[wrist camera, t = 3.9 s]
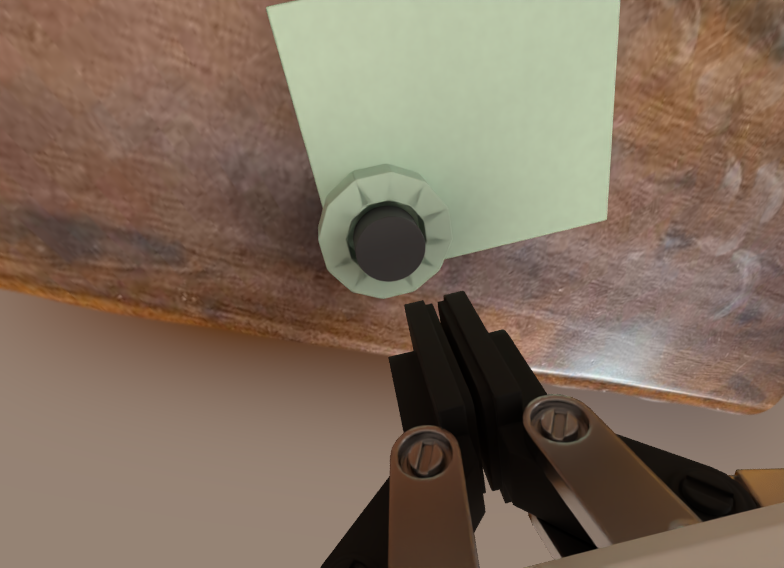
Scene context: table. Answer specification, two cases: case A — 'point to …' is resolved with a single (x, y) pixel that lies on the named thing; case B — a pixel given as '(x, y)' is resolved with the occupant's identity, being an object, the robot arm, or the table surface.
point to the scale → (451, 119)
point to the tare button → (388, 243)
